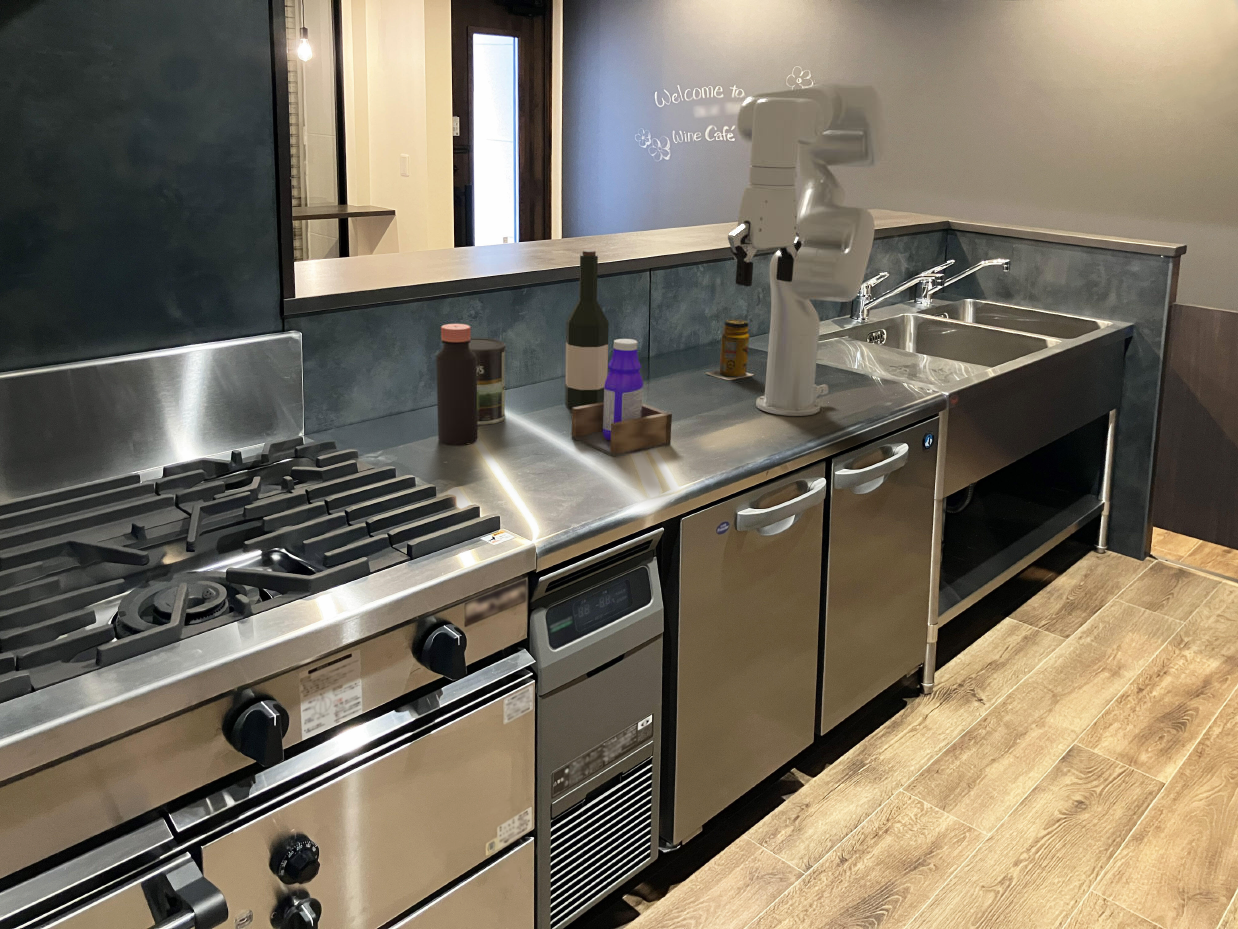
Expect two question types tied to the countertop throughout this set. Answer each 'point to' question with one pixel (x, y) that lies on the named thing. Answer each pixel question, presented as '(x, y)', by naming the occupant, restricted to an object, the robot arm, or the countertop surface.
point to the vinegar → (456, 387)
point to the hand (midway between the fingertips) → (764, 282)
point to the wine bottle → (586, 340)
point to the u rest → (622, 430)
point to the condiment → (733, 351)
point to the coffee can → (490, 379)
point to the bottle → (622, 386)
